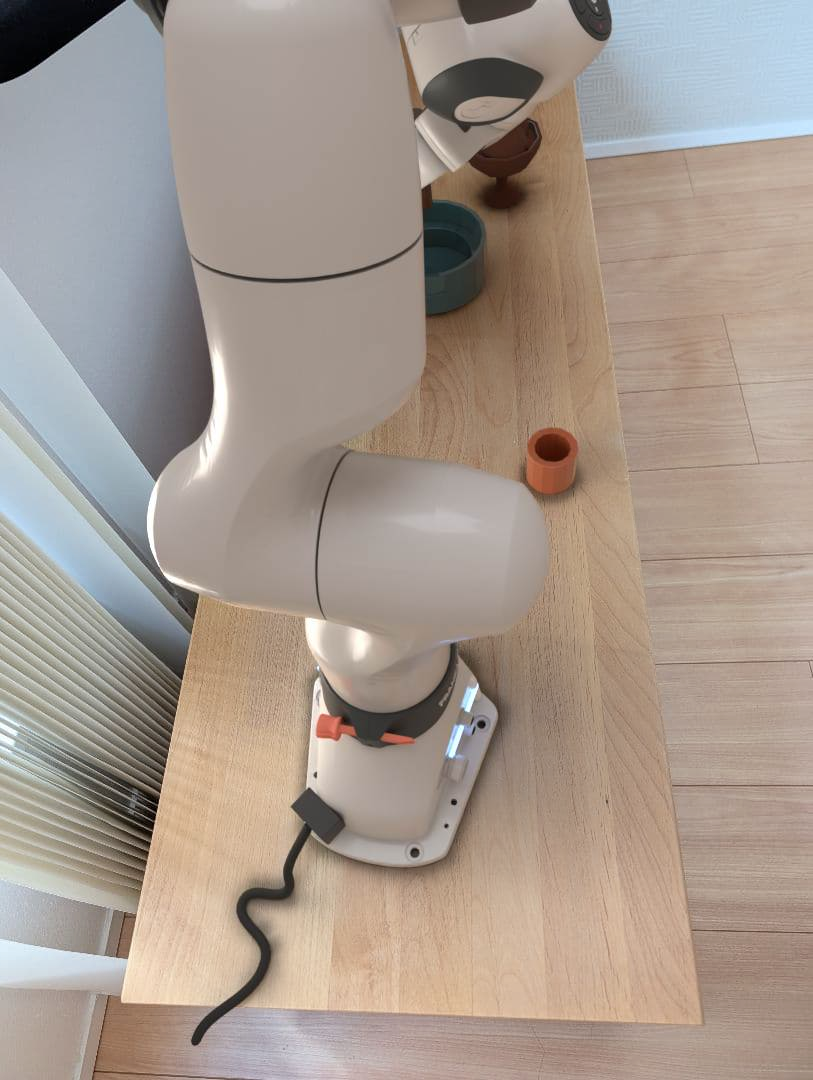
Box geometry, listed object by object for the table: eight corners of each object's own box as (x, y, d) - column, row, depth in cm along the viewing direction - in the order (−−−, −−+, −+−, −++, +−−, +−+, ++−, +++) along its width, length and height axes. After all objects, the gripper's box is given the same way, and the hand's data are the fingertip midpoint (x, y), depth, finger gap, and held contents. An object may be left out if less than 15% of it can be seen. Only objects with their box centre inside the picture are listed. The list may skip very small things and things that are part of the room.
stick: (431, 210, 98) (421, 118, 87) (415, 209, 98) (404, 118, 88) (434, 200, 98) (425, 107, 88) (418, 199, 99) (408, 107, 88)
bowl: (477, 322, 103) (475, 281, 97) (367, 314, 106) (358, 274, 100) (495, 244, 110) (494, 201, 104) (391, 239, 113) (384, 197, 107)
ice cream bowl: (535, 221, 112) (539, 121, 99) (458, 218, 114) (452, 120, 101) (544, 174, 117) (548, 73, 104) (470, 172, 119) (465, 73, 106)
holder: (571, 500, 88) (575, 470, 83) (522, 495, 89) (523, 464, 84) (576, 461, 91) (581, 430, 85) (529, 456, 92) (530, 425, 87)
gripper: (514, 16, 84) (443, 87, 96) (411, 124, 76) (348, 186, 88) (549, 67, 86) (476, 130, 98) (453, 177, 79) (386, 230, 90)
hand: (415, 157), depth 93 cm, fingers closed on stick, 2 cm apart
